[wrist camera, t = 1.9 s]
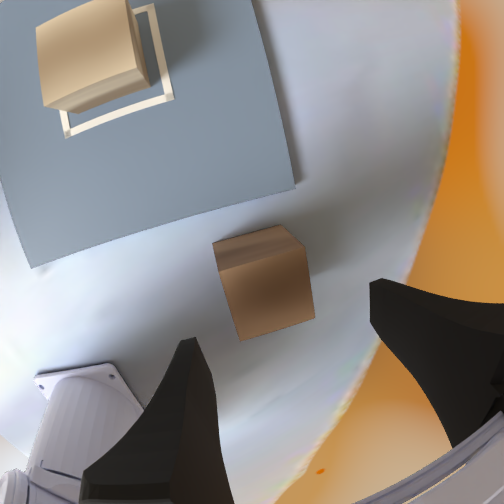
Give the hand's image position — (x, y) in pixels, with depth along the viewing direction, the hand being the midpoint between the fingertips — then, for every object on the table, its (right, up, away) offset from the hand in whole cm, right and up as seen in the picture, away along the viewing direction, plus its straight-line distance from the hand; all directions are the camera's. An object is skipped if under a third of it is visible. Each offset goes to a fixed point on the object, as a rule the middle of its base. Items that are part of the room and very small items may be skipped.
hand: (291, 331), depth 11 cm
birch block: (-9, +12, 0) cm, 15 cm away
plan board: (-9, +13, +1) cm, 15 cm away
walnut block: (-1, +2, +6) cm, 7 cm away
